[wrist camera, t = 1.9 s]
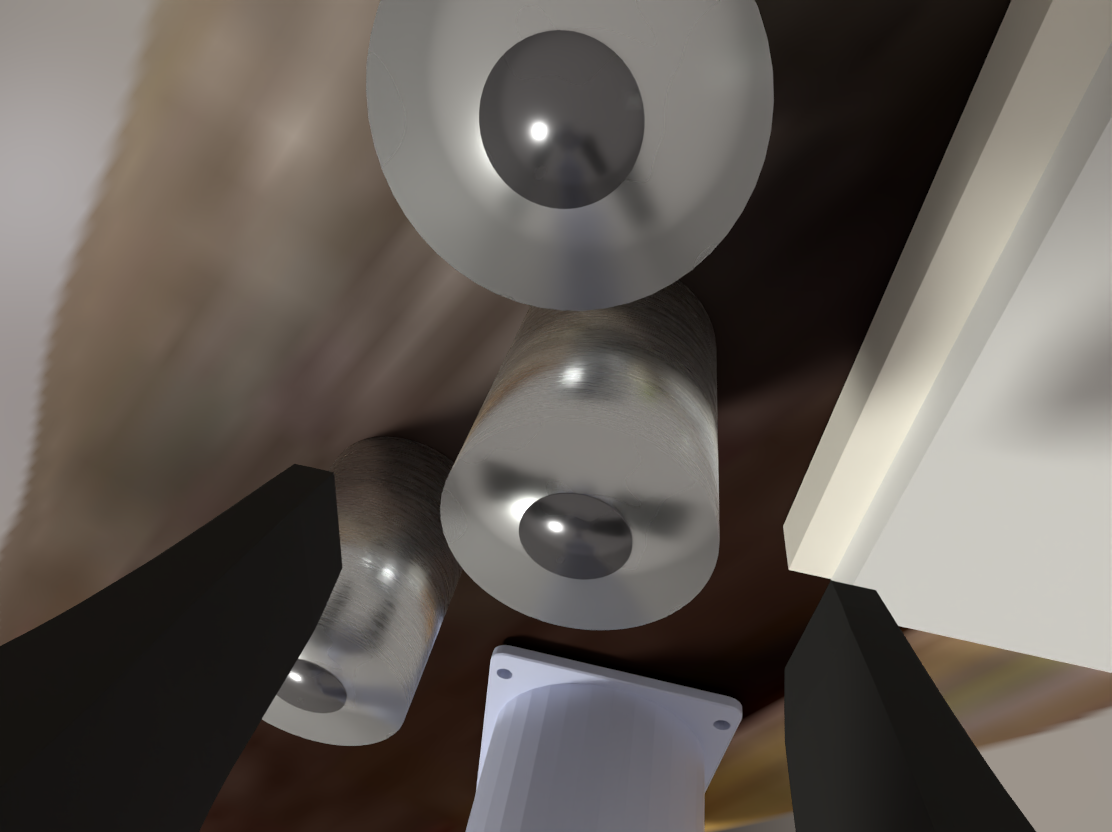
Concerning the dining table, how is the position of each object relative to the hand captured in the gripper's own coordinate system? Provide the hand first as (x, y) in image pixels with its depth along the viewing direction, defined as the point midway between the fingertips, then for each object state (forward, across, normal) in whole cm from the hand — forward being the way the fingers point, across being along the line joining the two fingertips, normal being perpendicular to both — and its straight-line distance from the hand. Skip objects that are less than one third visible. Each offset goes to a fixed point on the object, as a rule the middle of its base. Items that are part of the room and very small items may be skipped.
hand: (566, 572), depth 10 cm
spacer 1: (+7, +5, +6) cm, 10 cm away
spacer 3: (+7, 0, 0) cm, 7 cm away
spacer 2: (+7, +1, -6) cm, 9 cm away
